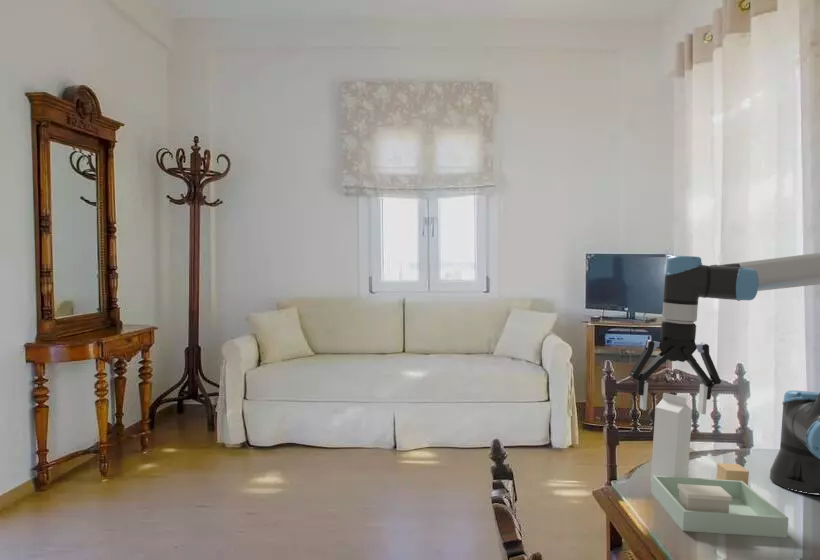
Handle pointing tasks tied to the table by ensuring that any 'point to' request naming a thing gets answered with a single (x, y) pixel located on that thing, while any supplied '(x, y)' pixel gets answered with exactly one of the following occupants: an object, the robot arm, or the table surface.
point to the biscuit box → (732, 472)
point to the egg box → (704, 498)
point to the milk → (671, 437)
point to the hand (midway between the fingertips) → (672, 411)
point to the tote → (743, 517)
